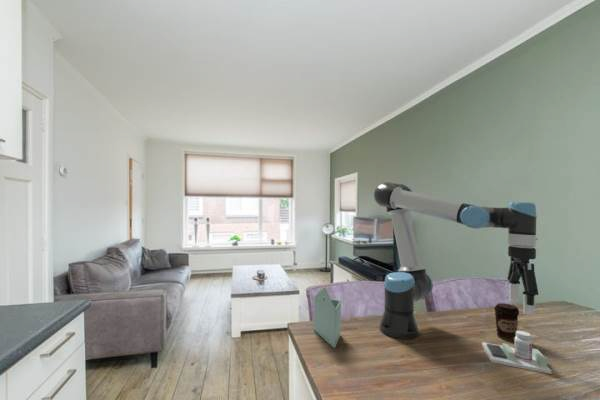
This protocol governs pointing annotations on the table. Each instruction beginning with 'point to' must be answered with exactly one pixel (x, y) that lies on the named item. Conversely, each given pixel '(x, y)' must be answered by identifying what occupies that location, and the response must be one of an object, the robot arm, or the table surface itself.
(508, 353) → the dock
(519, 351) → the pill bottle
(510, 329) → the coffee cup
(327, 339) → the green magazine holder
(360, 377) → the table surface
